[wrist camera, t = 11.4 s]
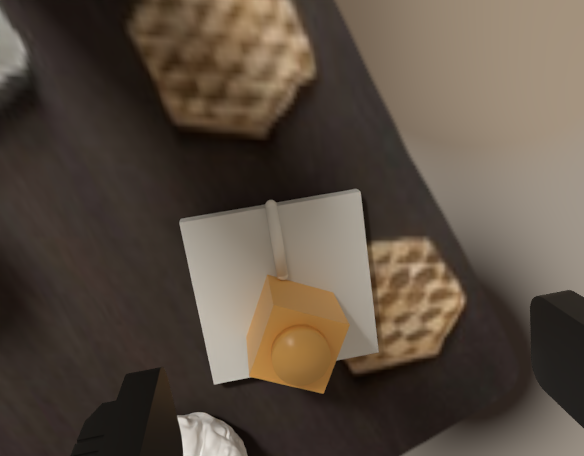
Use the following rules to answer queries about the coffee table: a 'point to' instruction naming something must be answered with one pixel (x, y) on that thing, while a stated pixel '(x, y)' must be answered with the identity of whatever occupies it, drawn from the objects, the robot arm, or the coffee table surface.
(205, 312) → the plate
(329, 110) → the coffee table surface
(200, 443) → the bust
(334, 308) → the domed orange cube
